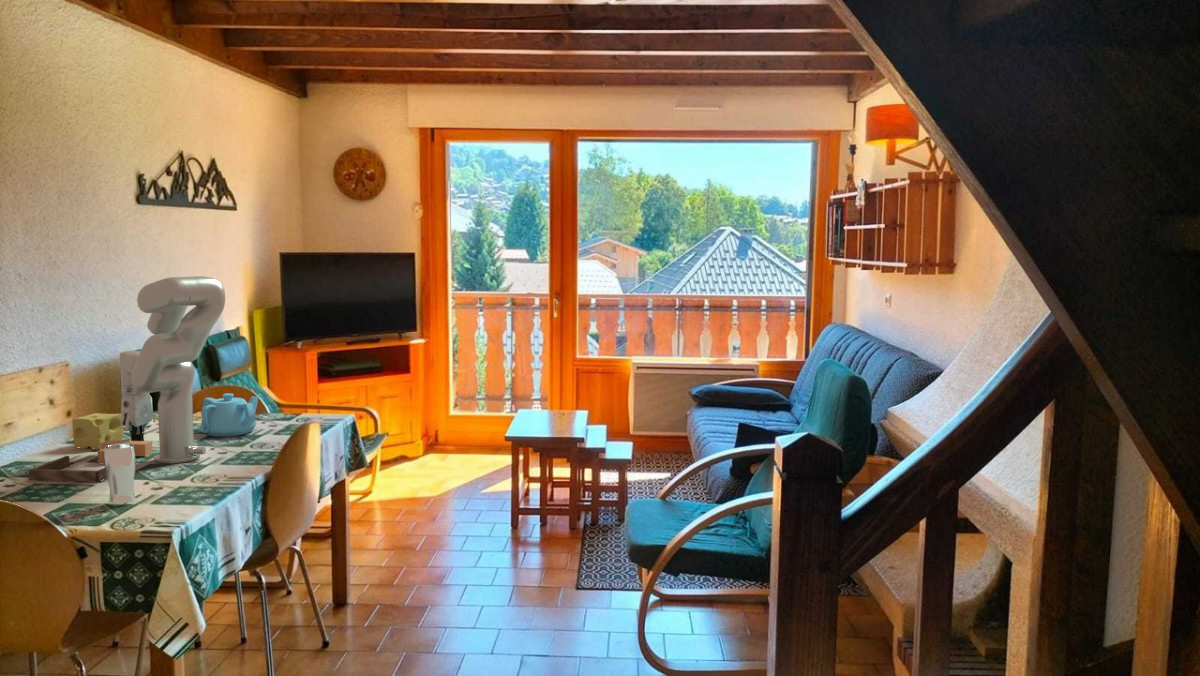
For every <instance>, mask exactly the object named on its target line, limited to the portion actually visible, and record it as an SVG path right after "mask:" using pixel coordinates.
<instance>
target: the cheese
mask: <svg viewBox="0 0 1200 676" xmlns="http://www.w3.org/2000/svg"><path fill="white" fill-rule="evenodd" d="M123 436H124V426H123V425H122V421H121V413H99V412H95V413H91V414H86V415H84V416H79V417H74V418H72V439H73V445H74V448H75V447H80V448H79V449H89V448H88V447H91V448H94V449H93V450H95V449H101V443H103V442H106V441H109V440H114V441H123V438H124V437H123ZM91 448H90V449H91Z"/></svg>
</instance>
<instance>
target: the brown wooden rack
mask: <svg viewBox="0 0 1200 676" xmlns="http://www.w3.org/2000/svg"><path fill="white" fill-rule="evenodd" d="M70 461H71V460H70V456H69V455H65V456H63V457H60V458H57V459H55V460H54V459H53V460H52V461H49V462H46V463H44V464H41V465H39V466H36V467H34V468H31V469H28V478H29V479H28V480H36V481H35V482H68V481H101V480H103V479H105V478H107V476H106V472H105V467H103V468H101V469H98V470H86V469H85V470H81V469H80V470H77V469H73V470H72V469H65V467H66V468H68V467H70V466H71V465H70ZM105 480H106V479H105ZM103 481H104V480H103ZM101 482H102V481H101Z"/></svg>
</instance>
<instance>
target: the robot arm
mask: <svg viewBox="0 0 1200 676" xmlns="http://www.w3.org/2000/svg"><path fill="white" fill-rule="evenodd" d="M136 299H137V300H136V302H137V303H136V304H137V307H138V308H139V310H140V311H141V312H143V313H145V314H150V316H149V318H148V320H147V323H146V324H147V325H146V327H147V329H148V330H149V332H150V333H152V334H153V335H151V336H149V337H148V338H147V339H146V340H145V341H144V343H143V345H142V348H141V349H140V350H127V351H123V352H121V353H120V354H119V371H120V373H119V375H120V388H121V389H120V392H121V394H120V395H121V401H120V414H121V421H122V425H123V427H124V430H125V431H126V432H127V431H128V432H129V435H130V441H145V437H144V433H145V429H146V428H145V426H146V425H147V424H148V422H150V421H152V419H153V420H154V416H153V415H154V414H153V413H152V412H153V403H152V404H151V398H150V396H151V395H150V394H149V393H156V392H162V393H160V396H159V399H158V403H157V417H158V419H157V420H158V437H159V438H158V439H159V453H158V454H156V455H155V456H154V458H153V459H154V462H156V463H158V462H159V464H180V463H186V462H192V461H194V460H196V459H199V458H200V457H201V455H205V454H206V453H207V447H206V446H198V442H195V436H194V434H195V433H194V414H193V413H194V411H193V390H194V383H195V382H194V381H195V377H196V376H195V374H196V373H195V372H196V371H195V366H194V365H193V363H192V362H193V361H195V360H197V358H199V356H200V354H201V352H202V350H203V348H204V346H205V344H206V342H207V340H208V338H209V336H210V333H211V331H212V329H213V327H214V326H215V324H216V323H217V322H218V320H219V318H220V317H221V315H222V313H223V311H224V309H225V305H226V292H225V287H224V285H223V284H222V282H221V281H219V280H218V279H217V278H214V277H211V276H210V277H209V276H201V275H200V276H175V277H174V276H173V277H172V276H171V277H165V278H162V279H159V280H156V281H154V282H150V283H148V284H145V285H144V286H143V287H142V288H140V290H139V291H138V294H137V298H136ZM190 306H194V307H193V308H192V309H191V310H189V311H188V312H187V311H186V310H187V309H188V307H190ZM186 312H187V313H186Z"/></svg>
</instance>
